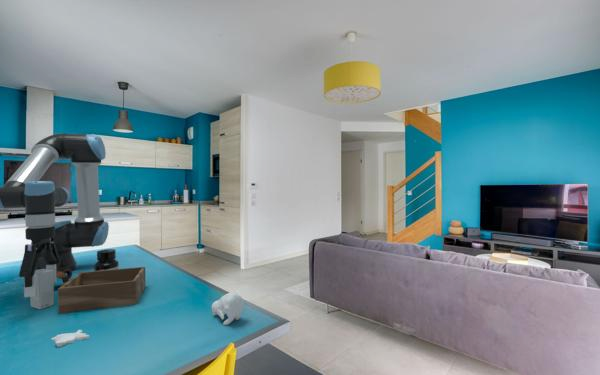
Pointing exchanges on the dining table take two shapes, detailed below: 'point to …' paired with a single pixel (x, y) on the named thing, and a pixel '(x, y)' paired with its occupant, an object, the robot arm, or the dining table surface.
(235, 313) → the white animal figurine
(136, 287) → the peg box
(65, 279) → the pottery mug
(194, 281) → the dining table surface
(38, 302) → the skincare box
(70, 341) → the acanthus leaf ornament
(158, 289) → the dining table surface
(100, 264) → the ink bottle
